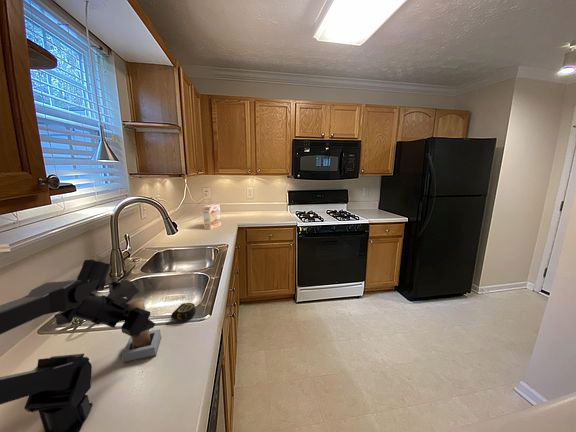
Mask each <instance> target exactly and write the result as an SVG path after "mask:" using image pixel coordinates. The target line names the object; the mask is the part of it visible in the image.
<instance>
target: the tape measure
mask: <svg viewBox="0 0 576 432" xmlns="http://www.w3.org/2000/svg"><path fill="white" fill-rule="evenodd" d="M196 311H197V310H196V306H195V303H192V302H187V303H186V302H185V303H181V304H180V305H179V306H178V307H177V308H176V309H174V311H173V312H172V313H171V315H170V318H171V319H172V320H174V321H177V320H179V321H186V320H189V319H191V318H192V317H194V315H195V314H196Z"/></svg>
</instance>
